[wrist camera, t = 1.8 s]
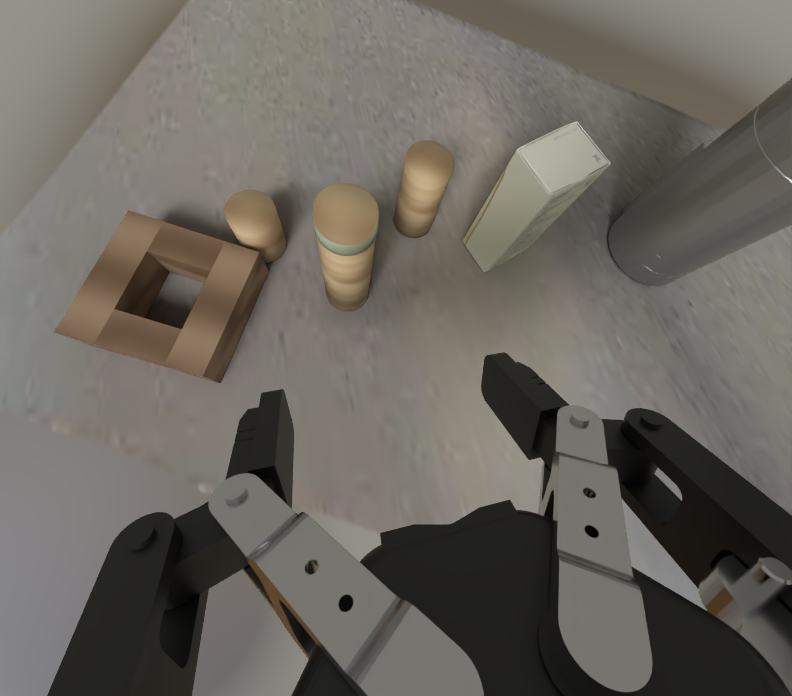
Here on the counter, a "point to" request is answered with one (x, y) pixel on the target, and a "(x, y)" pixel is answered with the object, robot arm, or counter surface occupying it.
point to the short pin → (256, 224)
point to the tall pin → (346, 242)
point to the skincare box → (533, 193)
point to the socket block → (139, 285)
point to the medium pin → (422, 187)
